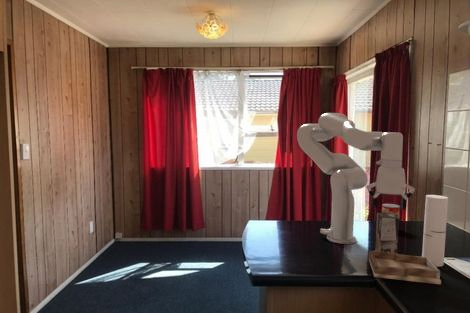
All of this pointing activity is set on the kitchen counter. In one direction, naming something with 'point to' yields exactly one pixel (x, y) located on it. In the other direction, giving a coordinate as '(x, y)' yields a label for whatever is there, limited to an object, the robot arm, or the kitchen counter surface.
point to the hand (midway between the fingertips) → (389, 208)
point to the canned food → (391, 209)
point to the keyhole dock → (403, 267)
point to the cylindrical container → (435, 228)
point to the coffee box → (387, 232)
